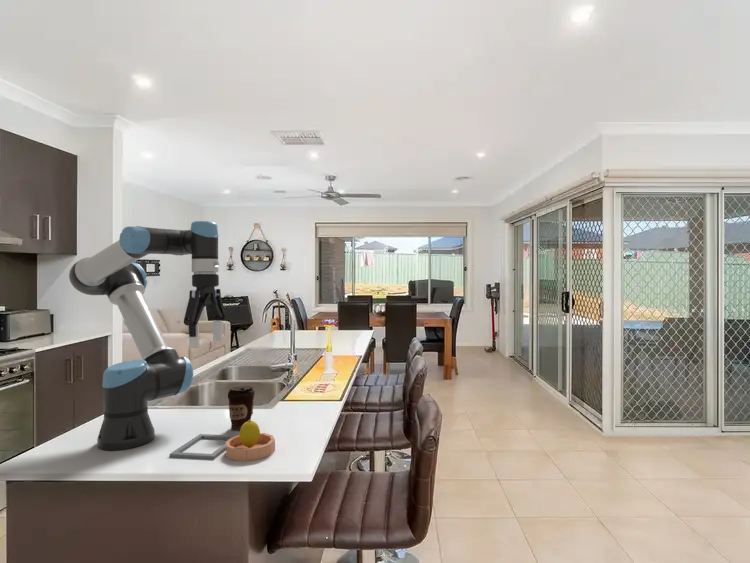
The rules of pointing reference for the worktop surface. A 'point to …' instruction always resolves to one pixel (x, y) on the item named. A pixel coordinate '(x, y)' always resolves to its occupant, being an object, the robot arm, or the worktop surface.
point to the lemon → (249, 434)
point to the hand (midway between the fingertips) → (206, 344)
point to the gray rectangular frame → (215, 454)
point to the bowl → (258, 451)
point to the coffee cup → (240, 405)
